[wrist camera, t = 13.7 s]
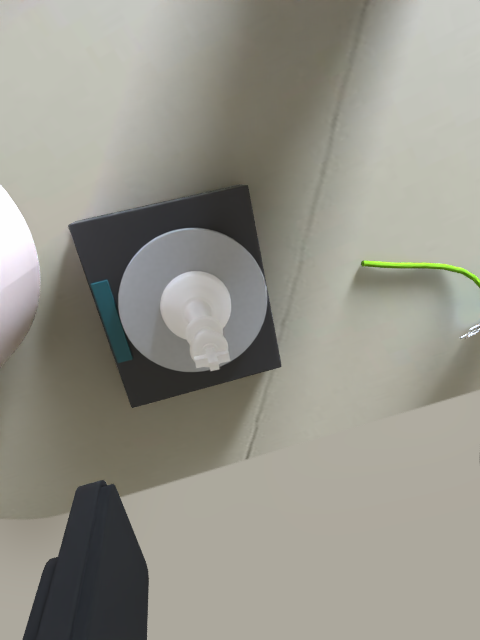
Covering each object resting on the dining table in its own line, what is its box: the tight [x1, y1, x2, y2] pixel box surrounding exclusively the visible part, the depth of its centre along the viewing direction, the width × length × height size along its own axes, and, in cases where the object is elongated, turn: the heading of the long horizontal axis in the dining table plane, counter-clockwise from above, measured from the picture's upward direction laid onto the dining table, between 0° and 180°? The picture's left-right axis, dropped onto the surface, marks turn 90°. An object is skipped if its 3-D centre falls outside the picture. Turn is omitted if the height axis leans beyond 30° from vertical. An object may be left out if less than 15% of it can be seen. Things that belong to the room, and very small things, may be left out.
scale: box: [68, 185, 281, 408], centre depth 30 cm, size 14×12×3 cm
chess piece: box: [160, 271, 231, 371], centre depth 24 cm, size 5×5×10 cm
